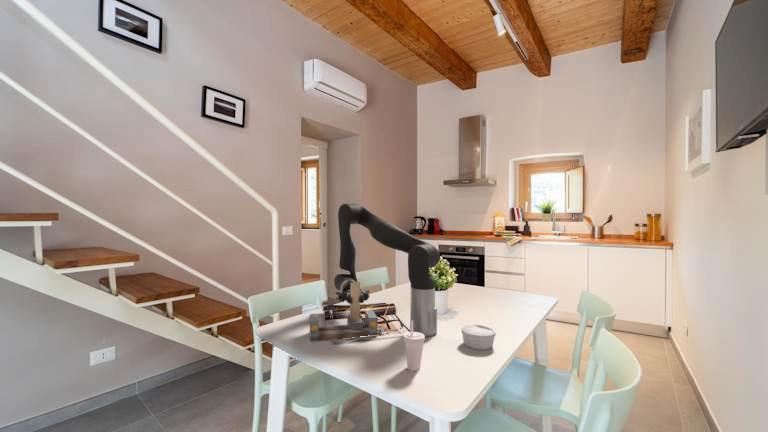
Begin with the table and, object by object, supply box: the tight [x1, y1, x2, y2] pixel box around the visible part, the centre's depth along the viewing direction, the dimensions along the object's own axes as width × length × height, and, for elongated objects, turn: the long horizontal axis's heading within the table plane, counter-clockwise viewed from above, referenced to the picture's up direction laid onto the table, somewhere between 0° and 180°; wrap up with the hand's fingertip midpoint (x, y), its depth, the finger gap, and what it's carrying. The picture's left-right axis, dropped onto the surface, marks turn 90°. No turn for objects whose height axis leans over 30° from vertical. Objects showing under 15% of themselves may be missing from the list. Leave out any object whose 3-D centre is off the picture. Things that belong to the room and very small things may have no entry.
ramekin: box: [461, 324, 496, 351], centre depth 119 cm, size 11×11×5 cm
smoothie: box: [402, 320, 426, 372], centre depth 101 cm, size 6×6×14 cm
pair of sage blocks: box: [309, 310, 378, 342], centre depth 127 cm, size 24×9×7 cm, turn 103°
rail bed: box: [312, 323, 378, 342], centre depth 128 cm, size 24×9×2 cm, turn 103°
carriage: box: [346, 281, 364, 330], centre depth 128 cm, size 5×7×16 cm
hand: (356, 300), depth 126 cm, fingers closed on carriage, 3 cm apart
